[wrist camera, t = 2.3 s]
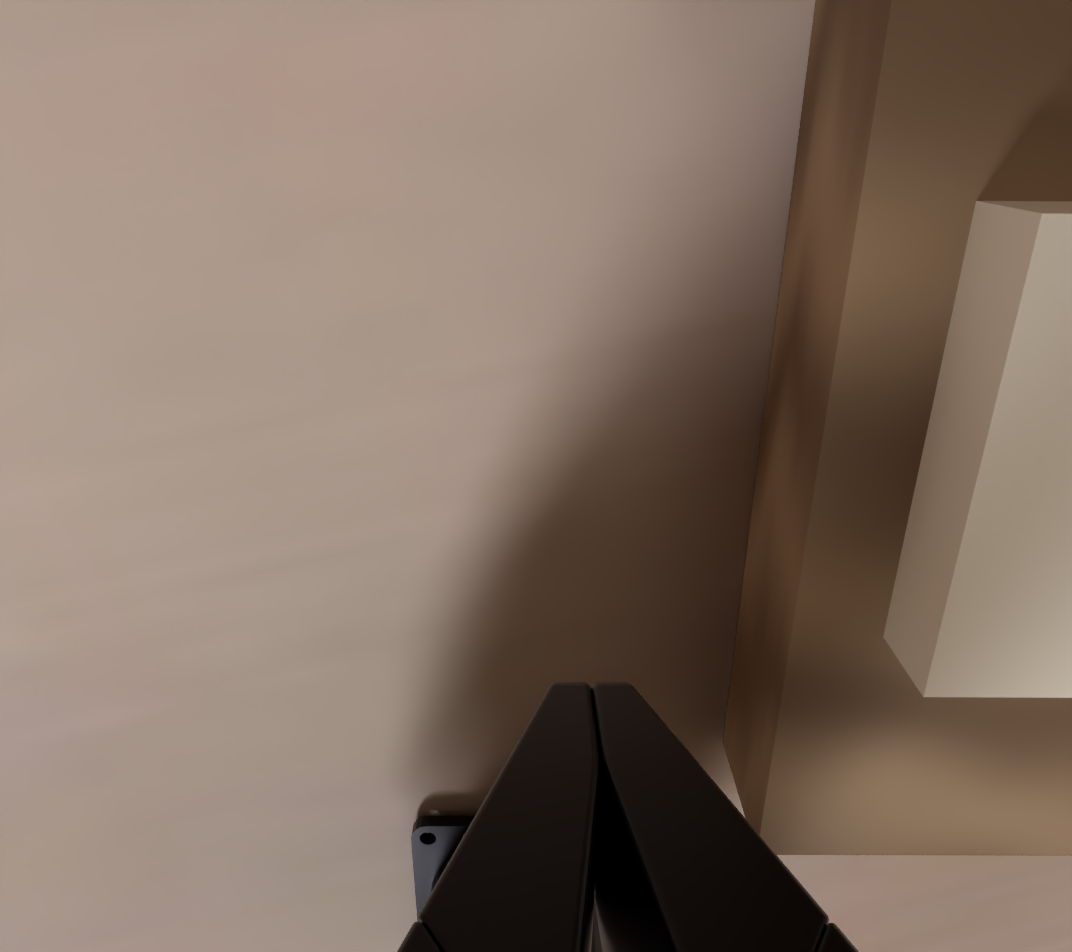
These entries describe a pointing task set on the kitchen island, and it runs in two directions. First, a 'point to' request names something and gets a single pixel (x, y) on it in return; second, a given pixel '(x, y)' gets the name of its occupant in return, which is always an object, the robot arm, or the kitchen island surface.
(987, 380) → the cream rectangular block
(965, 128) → the walnut deck
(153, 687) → the kitchen island surface
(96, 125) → the kitchen island surface
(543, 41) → the kitchen island surface
